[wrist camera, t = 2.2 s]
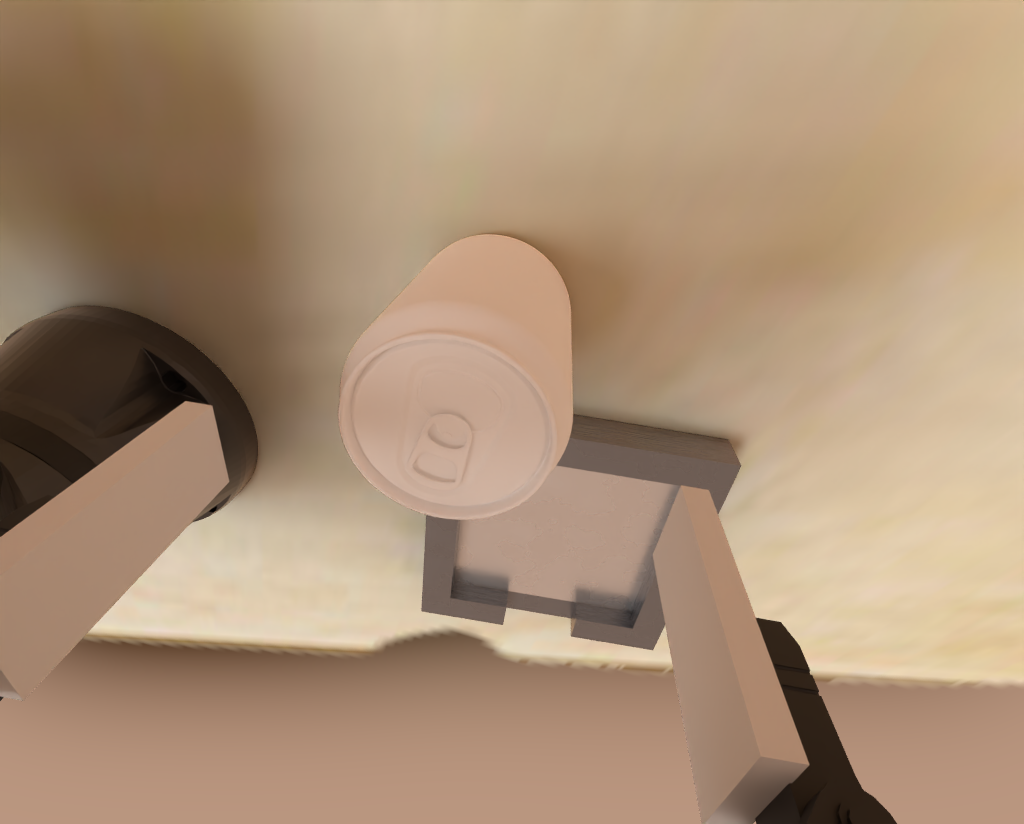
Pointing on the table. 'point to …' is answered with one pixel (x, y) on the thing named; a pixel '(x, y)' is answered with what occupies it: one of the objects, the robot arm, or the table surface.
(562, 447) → the beverage can
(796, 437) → the table surface
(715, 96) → the table surface
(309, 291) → the table surface
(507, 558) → the chassis pocket
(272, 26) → the table surface
